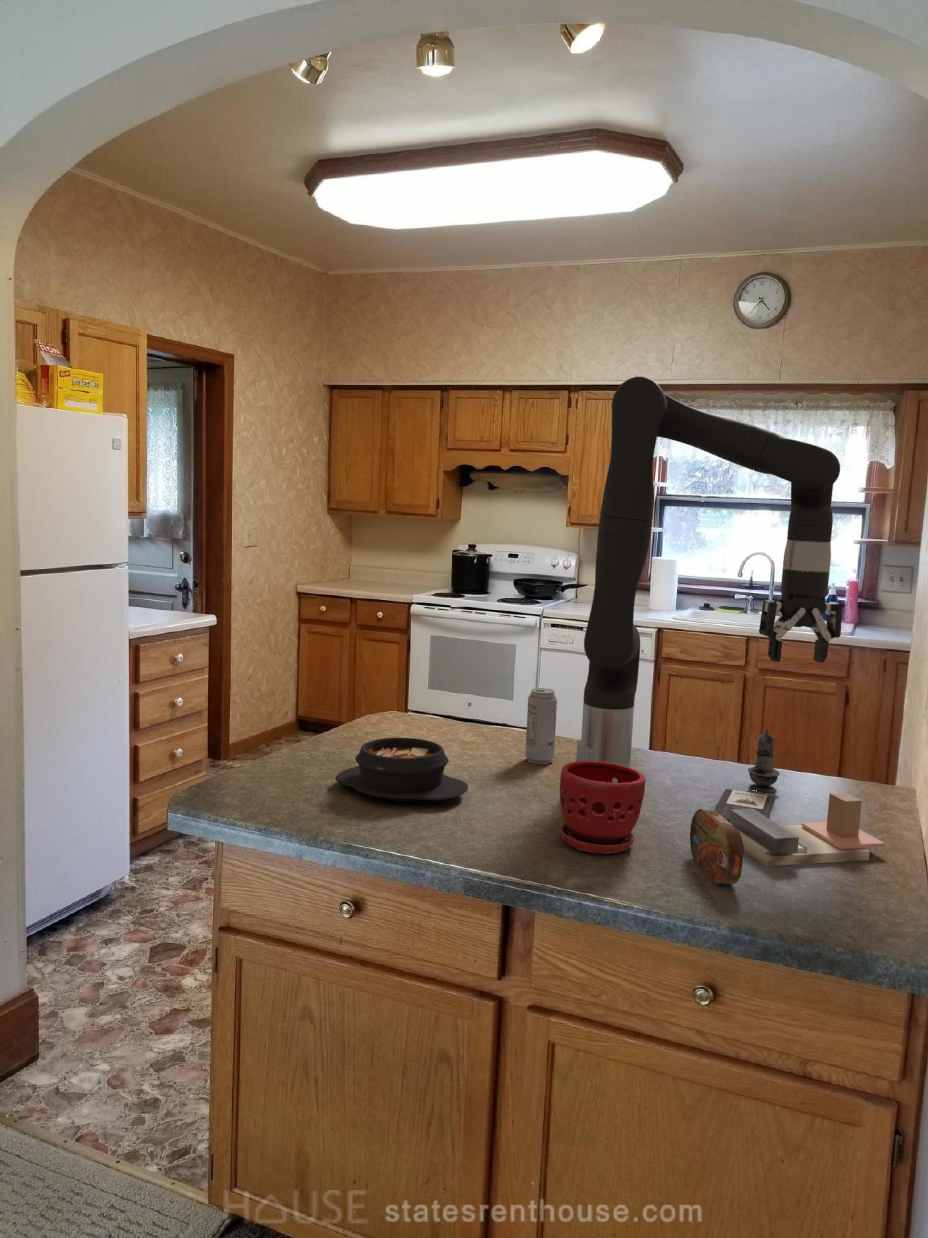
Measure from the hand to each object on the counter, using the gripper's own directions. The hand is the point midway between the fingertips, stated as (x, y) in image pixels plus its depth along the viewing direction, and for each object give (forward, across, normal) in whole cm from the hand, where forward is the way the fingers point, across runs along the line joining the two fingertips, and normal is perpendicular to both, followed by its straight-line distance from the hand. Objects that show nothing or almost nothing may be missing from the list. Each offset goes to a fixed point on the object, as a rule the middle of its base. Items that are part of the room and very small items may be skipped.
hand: (797, 661), depth 154 cm
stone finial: (+28, +5, +15) cm, 32 cm away
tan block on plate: (+26, +2, -14) cm, 30 cm away
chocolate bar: (+29, -5, +5) cm, 29 cm away
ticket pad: (+28, -7, -14) cm, 32 cm away
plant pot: (+28, -38, -8) cm, 48 cm away
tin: (+28, -25, -21) cm, 43 cm away
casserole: (+29, -65, +21) cm, 74 cm away
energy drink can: (+28, -33, +38) cm, 58 cm away
